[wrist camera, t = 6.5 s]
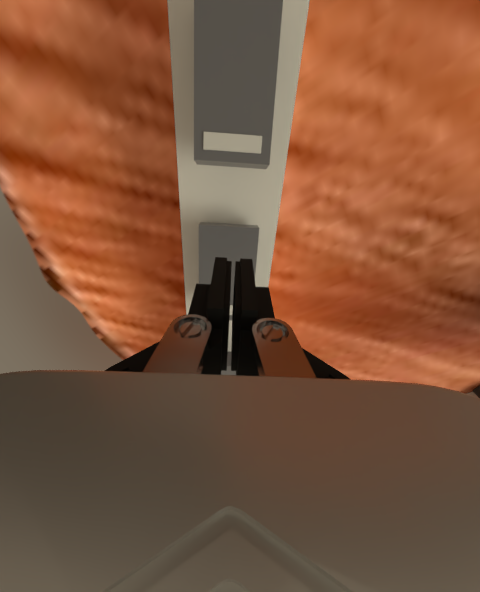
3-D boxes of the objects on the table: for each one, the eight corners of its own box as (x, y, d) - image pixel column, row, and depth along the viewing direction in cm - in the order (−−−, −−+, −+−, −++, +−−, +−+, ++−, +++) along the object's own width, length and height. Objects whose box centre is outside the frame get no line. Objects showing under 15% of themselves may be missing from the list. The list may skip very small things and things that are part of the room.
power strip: (171, -131, 13) (143, -252, 9) (311, -112, 13) (345, -220, 9) (194, 365, 32) (188, 399, 28) (250, 367, 33) (253, 400, 29)
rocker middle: (200, 221, 18) (198, 224, 17) (257, 225, 18) (259, 228, 17) (200, 311, 21) (198, 319, 19) (250, 312, 21) (251, 321, 20)
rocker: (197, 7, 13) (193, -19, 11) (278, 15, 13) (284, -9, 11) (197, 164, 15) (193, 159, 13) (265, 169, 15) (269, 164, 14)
